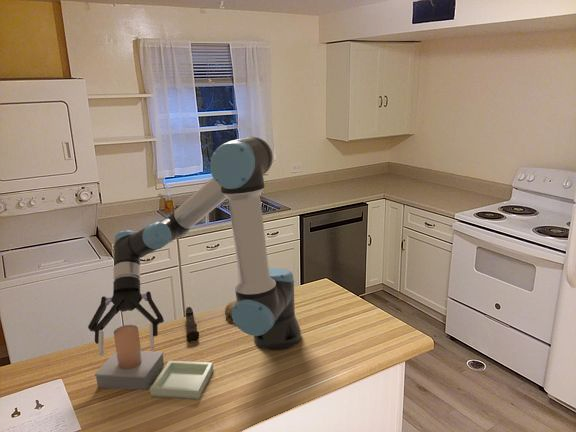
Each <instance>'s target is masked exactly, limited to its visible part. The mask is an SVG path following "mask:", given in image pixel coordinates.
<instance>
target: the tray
mask: <svg viewBox="0 0 576 432" xmlns="http://www.w3.org/2000/svg"><path fill="white" fill-rule="evenodd" d="M213 372H214V362H207V361H206V362H205V361H204V362H203V361H187V360H186V361H185V360H183V361H182V360H168V362H167V363H166V364H165V366H163V368H162V369H161V372H159V373H160V374H159V375H158V376H157V378H156V379H155V381H154V382H152V383H153V384H152V385H151V387H150V388H149V389H150V396H151V397H152V398H153V397H154V398H171V399H187V400H199V399H200V398H201V396H202V394H203V392H204V390H205V388H206V385H207V384H208V382H209V380H210V379H211V376H212V374H213Z"/></svg>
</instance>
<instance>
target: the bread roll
mask: <svg viewBox="0 0 576 432" xmlns="http://www.w3.org/2000/svg"><path fill="white" fill-rule="evenodd" d="M236 303H237V299H236V300H232V301H229V302H228V303H227V305H226V306H225V309H224V314H225V318H226V320H228V321H229V322H231V323H232V322H233V323H234V321H233V318H232V310H233V307H234V305H235V304H236Z"/></svg>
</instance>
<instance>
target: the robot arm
mask: <svg viewBox="0 0 576 432" xmlns="http://www.w3.org/2000/svg"><path fill="white" fill-rule="evenodd" d="M210 158H211V159H210V165H209V168H210V173H211V175H212V177H211V178H210V179H209V180H208V181H207V182H206V183H204V184H203V186H201V187H200V188H199V189H198V190H197V191H196V192H194V193H193V194H192V195H190V197H189V198H188V199H187V200H185V201H184V202H183V203H182V204H181V205H179V206H178V208H176V209H175V210H174V211H172V213H170V214H169V215H168V216H167V217H165V218H164V219H162V220H159V221H156V222H155V221H154V223H151V224H148V225H146V226H145V227H144V228H142V229H141V230H138V231H135V230H125V231H119V232H118V233H116V234H115V236H114V244H113V287H112V288H113V289H112V290H113V291H112V297H107V296H105V295H104V296H101V298H100V299H101V300H100V304H99V306H98V307H97V310H96V311H95V313H94V315H93V317H92V318H91V321H90V322H89V324H88V325H87V329H88V330H89V331H90V332H93V333H94V343H95V344H96V345H98V349H97V354H98V355H99V357H103V356H104V343H105V341H104V340H105V338H104V337H105V332H104V331H103V330H104V329H105V328H106V326H107V325H108V324H109V323H110V321H111V320H112V319H114V317H115V316H116V315H117V314H118V313H119V312H121V313H123V312H127V311H131V312H132V311H134V310H135V309H136V310H137V311H138V312H140V313H141V314H142V316H143V317H144V318H145V319H146V320H148V321H149V322H150V323H149V348H150V349H151V350H154V349H155V337H158V334H159V333H158V332H159V331H158V325H159V324H163V323H164V321H165V319H164V317H163V315H162V313H161V312H160V310H159V308H158V307H157V306H156V303H155V302H154V300H153V299H152V298H153V297H152V293H151V292H150V291H146V293H142V294H141V258H143V257H145V256H147V255H150V254H151V253H153V252H156V251H158V250H160V249H162V248H163V247H165V246H168V244H170V243H172V242H174V241H175V240H177V239H179V238H183V237H184V236H185V235H186V234H187V233H189V231H190V230H191V228H193V227H195V225H196V224H198V223H199V222H200V221H201V220H202V219H203V218H205V217H206V216H207V215H208V214H209V213H211V212H212V211H213V210H214V209H216V208H217V207H218V206H219V205H220V204H222V203H223V202H224V201H225V200H228V207H229V214H230V221H231V229H232V237H233V242H234V243H233V245H234V250H235V258H236V264H237V266H236V267H237V271H238V272H237V273H238V280H239V281H238V283H237V284H236V285H235V287H234V290H235V296H236V297H235V298H236V300H237V303H236V304H235V305H234V307H233V310H232V318H233V321H234V322H233V323H234V325H235V326H236V327H237V329H238V330H240V331H242V332H243V333H244V334H246V335H248V336H253V341H254V343H255V344H256V345H257V346H259V347H260V348H263V349H265V350H274V351H275V350H276V351H278V350H279V351H280V350H285V349H289V348H291V347H294V346H296V345H297V344H298V343H300V341H301V339H302V330H301V327H300V325H299V322H298V319H297V317H296V313H295V311H296V310H295V280H294V274H293V272H292V271H291V270H289V269H286V268H281V267H269V262H268V261H269V259H268V252H267V243H266V234H265V227H264V219H263V211H262V210H263V209H262V202H261V193H262V192H263V191H264V190H265V180H264V175H265V174H267V172H269V171H270V169H271V168H272V164H273V158H274V157H273V151H272V149H271V147H270V145H269V144H268V143H267V141H265V140H264V139H262V138H260V137H256V136H246V137H243V138H238V139H234V140H233V139H232V140H228V141H226V142H225V143H223V144H221V145H220V146H218V147H216V149H215V151H214V152H213V154H212V156H211V157H210ZM143 299H144V301H145V302H148V305H149V306H150V308H151V310H152V311H153V312H154V314H155V317H156V318H155V317H154V316H153V315H152V314H151V313H150V312H149V311H147V310H146V309H145V308H144V306H142V305H141V301H142V300H143ZM110 303H112V304H113V305H112V306H111V307H110V309H109V311H108V312H107V313H106V314H105V315H104V313H105V311H106V310H107V306H109V305H110ZM103 315H104V317H103ZM102 317H103V318H102ZM101 318H102V319H101Z"/></svg>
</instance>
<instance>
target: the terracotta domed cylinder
mask: <svg viewBox="0 0 576 432" xmlns="http://www.w3.org/2000/svg"><path fill="white" fill-rule="evenodd" d="M139 333H140V332H139V327H138V326H137V325H134V324H125V325H122V326H119V327H117V328H116V329H115V330H114V331H113V338H114V347H115V351H116V353H117V360H118V366H119V367H120V368H122V369H131V368H134V367H137V366H138V365H140V364H141V362H142V355H141V351H142V349H141V342H140V341H141V340H140V334H139Z"/></svg>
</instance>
